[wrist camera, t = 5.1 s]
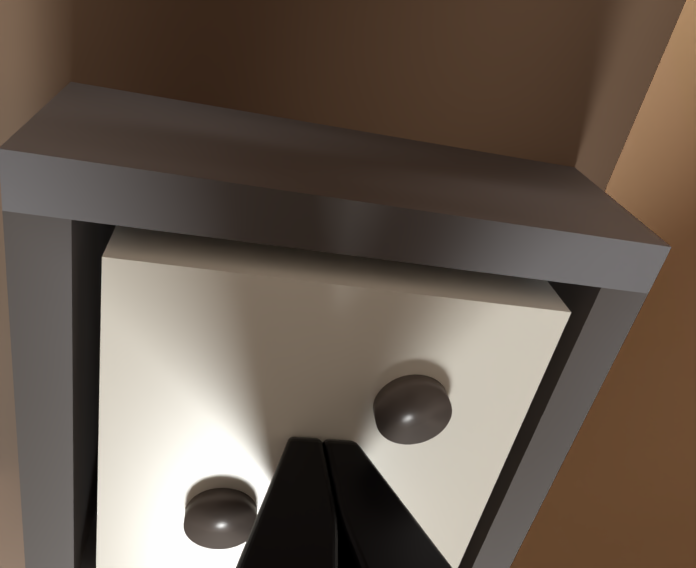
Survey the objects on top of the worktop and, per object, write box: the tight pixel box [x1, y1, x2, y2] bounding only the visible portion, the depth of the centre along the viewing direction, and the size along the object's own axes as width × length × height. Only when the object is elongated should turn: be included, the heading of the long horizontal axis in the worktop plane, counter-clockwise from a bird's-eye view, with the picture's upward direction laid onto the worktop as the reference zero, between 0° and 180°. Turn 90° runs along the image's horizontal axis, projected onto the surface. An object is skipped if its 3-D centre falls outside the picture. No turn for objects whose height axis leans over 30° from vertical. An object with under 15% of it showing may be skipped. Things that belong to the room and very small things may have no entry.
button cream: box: [96, 225, 571, 568], centre depth 9 cm, size 5×5×2 cm
